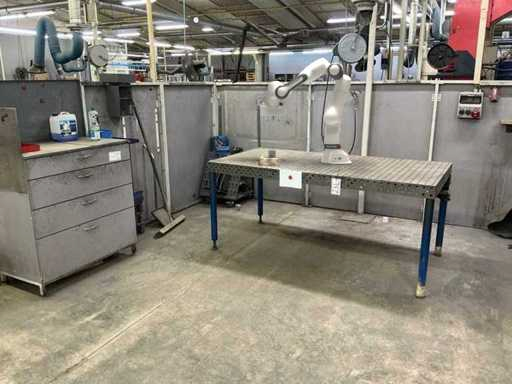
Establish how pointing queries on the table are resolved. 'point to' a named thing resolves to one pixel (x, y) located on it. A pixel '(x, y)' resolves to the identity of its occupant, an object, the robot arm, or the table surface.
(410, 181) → the table surface
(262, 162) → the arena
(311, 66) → the robot arm
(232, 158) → the table surface
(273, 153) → the bracket
